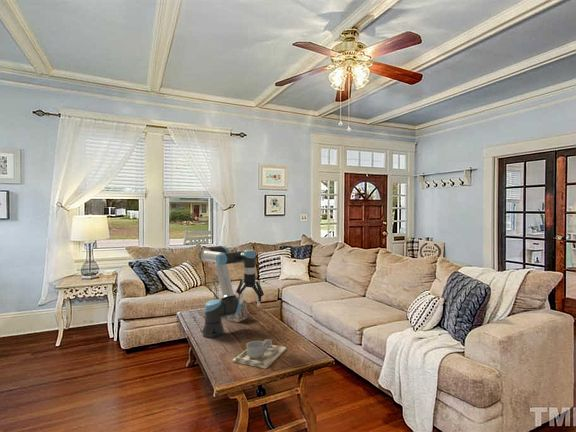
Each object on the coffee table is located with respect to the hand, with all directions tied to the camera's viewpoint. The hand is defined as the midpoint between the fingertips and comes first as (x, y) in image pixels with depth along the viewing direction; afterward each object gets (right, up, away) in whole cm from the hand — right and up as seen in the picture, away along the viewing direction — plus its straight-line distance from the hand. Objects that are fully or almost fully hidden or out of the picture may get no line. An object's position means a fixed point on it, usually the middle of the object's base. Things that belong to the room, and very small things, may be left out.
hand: (249, 304), depth 221 cm
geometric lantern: (-30, -24, +61) cm, 72 cm away
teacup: (+8, -25, -24) cm, 35 cm away
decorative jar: (-15, -25, +47) cm, 55 cm away
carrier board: (+9, -25, -20) cm, 33 cm away
